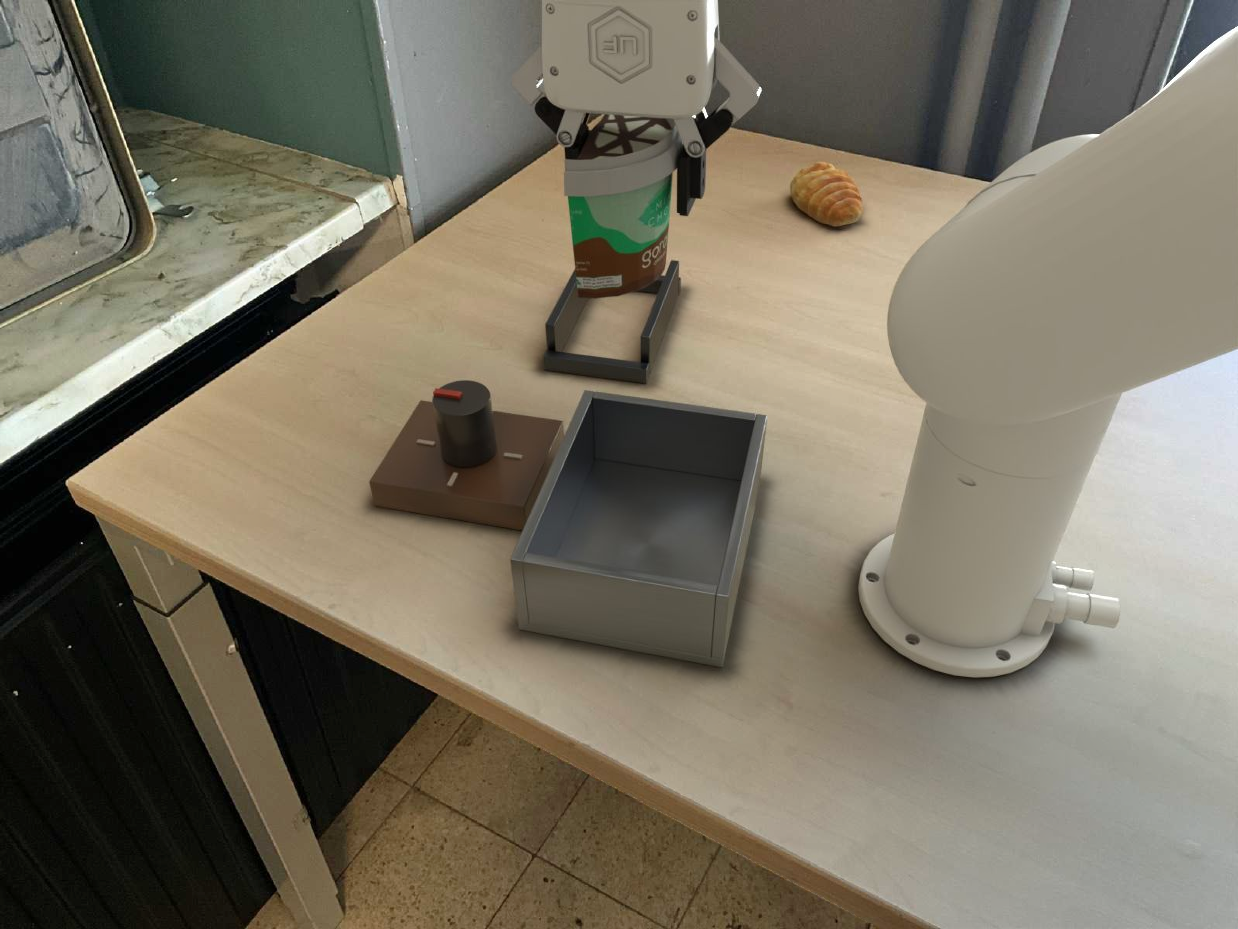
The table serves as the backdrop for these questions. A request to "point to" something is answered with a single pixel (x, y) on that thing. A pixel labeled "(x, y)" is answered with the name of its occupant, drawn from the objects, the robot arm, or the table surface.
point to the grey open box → (642, 527)
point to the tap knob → (465, 423)
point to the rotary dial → (468, 471)
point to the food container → (621, 203)
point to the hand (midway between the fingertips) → (636, 199)
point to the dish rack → (602, 367)
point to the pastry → (827, 194)
